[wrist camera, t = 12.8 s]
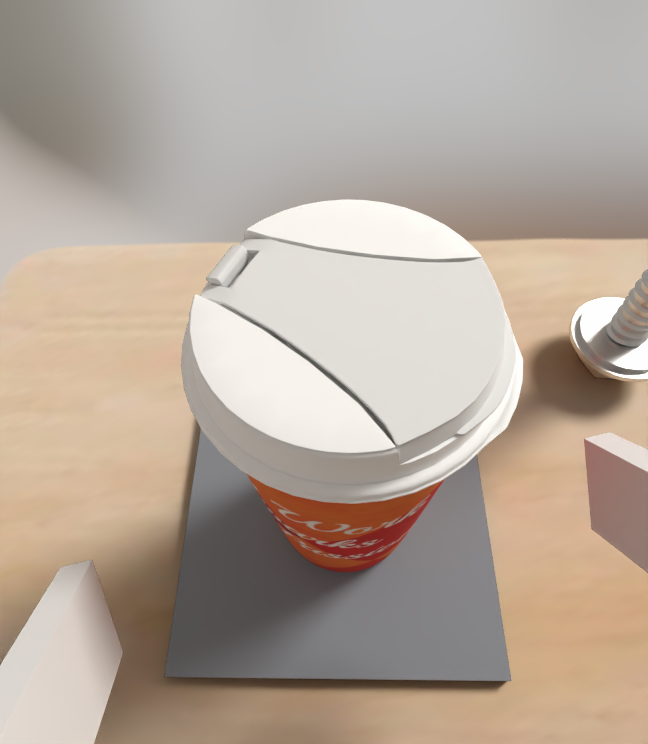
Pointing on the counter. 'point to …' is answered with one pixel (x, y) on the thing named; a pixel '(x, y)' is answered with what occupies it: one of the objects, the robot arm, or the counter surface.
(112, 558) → the counter surface
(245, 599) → the slate mat
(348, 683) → the counter surface
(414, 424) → the paper cup
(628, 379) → the screw
